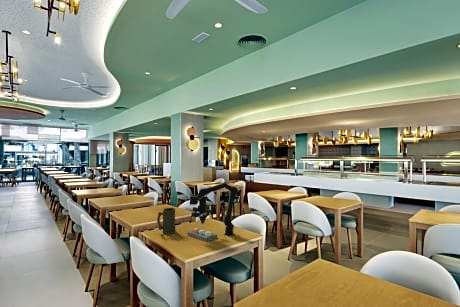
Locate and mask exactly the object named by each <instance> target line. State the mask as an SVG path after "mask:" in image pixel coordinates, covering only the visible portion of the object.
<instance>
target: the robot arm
mask: <svg viewBox="0 0 460 307" xmlns="http://www.w3.org/2000/svg"><path fill="white" fill-rule="evenodd" d="M222 189H226V190H228V203H227V208H226V212H225V214H223V216H222V219H221V220H222V223H223V224H224V225H225V228H224V229H225V231H224V232H225V233H224V234H223V235H225V236H228V237H231V236H234V235H236V234H235V233H234V228H235V225H234V224H233V223H232V212H233V207H234V202H235V197H236V196H237V195H238V191H239V190H238V188H237V187H236V186H234V185H230V184H228V183H227V182H222V183H220V184H216V185H211V186H209V187H201V188H200V189H199V190H198V193H197V194H196V195H195V196H193V195H190V196H189V205H190V206H191V205H192V206H194V207H192V212H191V215H190V216H191V217H193V218H199V219H200V223H201V224H202V225H204V224H205V221H206V219H207V217H208V216H209V214H210V215H213V214H214V210H213V209H211V208H208V205H207V200H208V199H209V197H208V196H207V195H209V194H211V193H213V192H216V191H218V190H222ZM196 206H197V207H196ZM207 208H208V209H207Z"/></svg>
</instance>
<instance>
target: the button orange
mask: <svg viewBox="0 0 460 307" xmlns="http://www.w3.org/2000/svg"><path fill="white" fill-rule="evenodd" d="M193 230H194V232H195V233H198V232H199V230H200V228H199V227H195V228H194V227H193Z"/></svg>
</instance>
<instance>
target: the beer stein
mask: <svg viewBox="0 0 460 307" xmlns="http://www.w3.org/2000/svg"><path fill="white" fill-rule="evenodd" d="M161 216H162V224H161ZM156 222H157V225H158V231H161V230H162V234H164V235H172V234H175V233H176V232H177V230H176V208H175V207H166V208H163V210H162V212H161V211H159V212H158V214H157V217H156Z"/></svg>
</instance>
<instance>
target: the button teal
mask: <svg viewBox="0 0 460 307" xmlns="http://www.w3.org/2000/svg"><path fill="white" fill-rule="evenodd" d="M205 231H206V230H205V229H201V230H199V234H201V235H203V234H205Z"/></svg>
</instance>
